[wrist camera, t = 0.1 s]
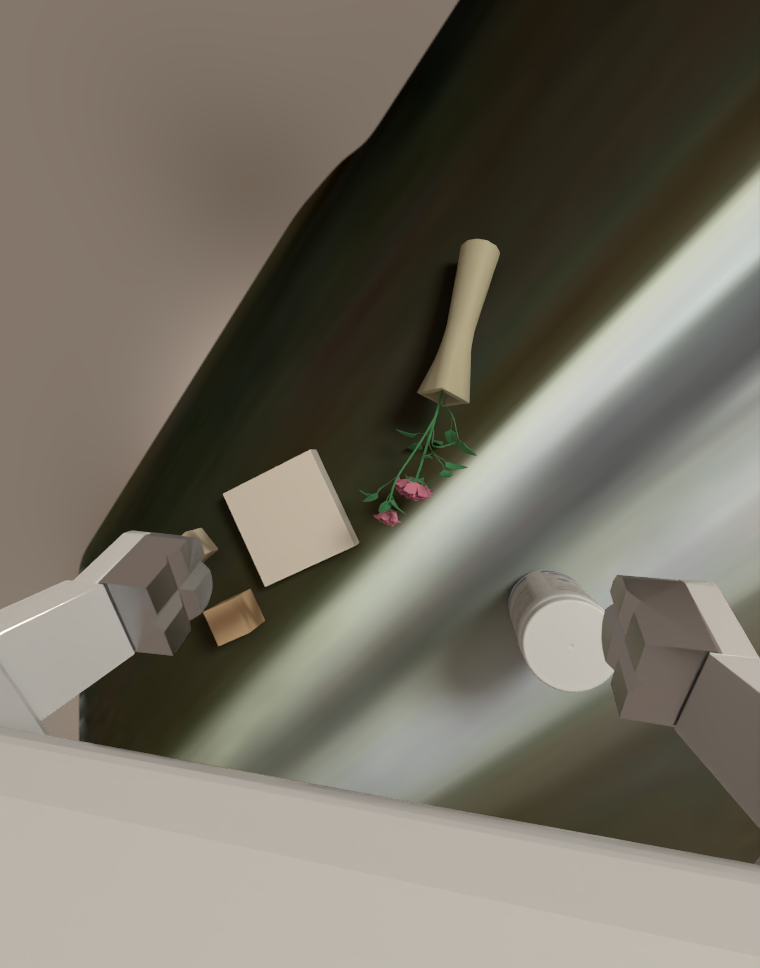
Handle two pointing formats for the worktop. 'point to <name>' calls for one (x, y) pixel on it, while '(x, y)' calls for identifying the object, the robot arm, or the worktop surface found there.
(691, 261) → the worktop surface
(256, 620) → the oak block
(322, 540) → the plate
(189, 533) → the maple block
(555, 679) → the supplement tub
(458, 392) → the flower vase
